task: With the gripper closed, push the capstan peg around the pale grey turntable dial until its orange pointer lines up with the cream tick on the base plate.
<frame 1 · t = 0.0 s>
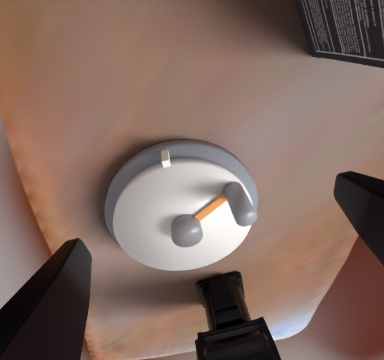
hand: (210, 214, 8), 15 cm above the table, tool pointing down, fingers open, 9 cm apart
dial: (187, 235, 23), point 4 cm above the table, hinge at -60.0°
base plate: (182, 206, 27), on the table
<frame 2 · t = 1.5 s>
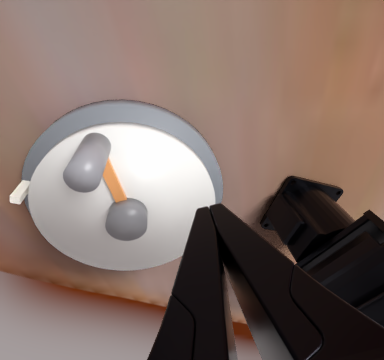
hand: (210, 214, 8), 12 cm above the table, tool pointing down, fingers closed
dial: (126, 225, 18), point 4 cm above the table, hinge at -60.0°
base plate: (131, 191, 22), on the table
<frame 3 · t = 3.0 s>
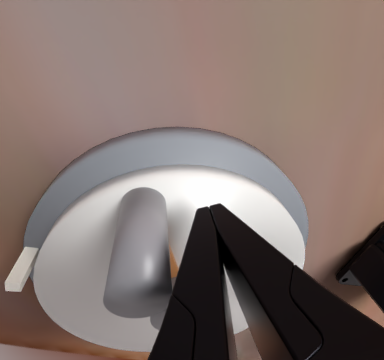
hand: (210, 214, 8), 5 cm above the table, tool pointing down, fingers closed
dial: (181, 315, 12), point 4 cm above the table, hinge at -60.0°, touching gripper
base plate: (174, 246, 16), on the table
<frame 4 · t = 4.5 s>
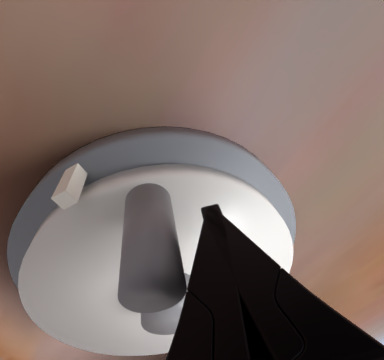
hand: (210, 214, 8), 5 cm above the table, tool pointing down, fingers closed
dial: (172, 316, 12), point 4 cm above the table, hinge at -21.0°, touching gripper
base plate: (164, 247, 16), on the table
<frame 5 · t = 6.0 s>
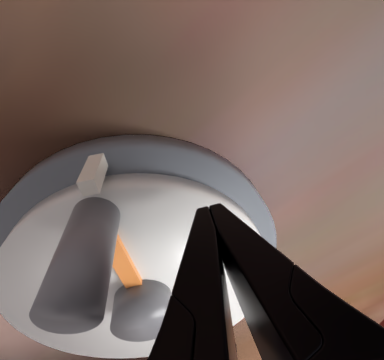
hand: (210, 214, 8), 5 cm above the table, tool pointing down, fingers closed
dial: (142, 324, 12), point 4 cm above the table, hinge at 3.5°
base plate: (144, 252, 15), on the table
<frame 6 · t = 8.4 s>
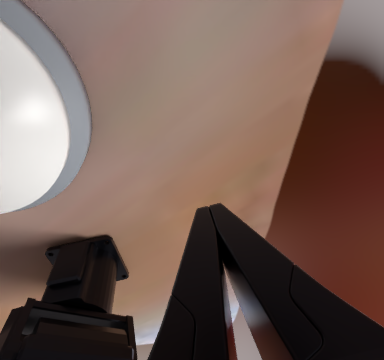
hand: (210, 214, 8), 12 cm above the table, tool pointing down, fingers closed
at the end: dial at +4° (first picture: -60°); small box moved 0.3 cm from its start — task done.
